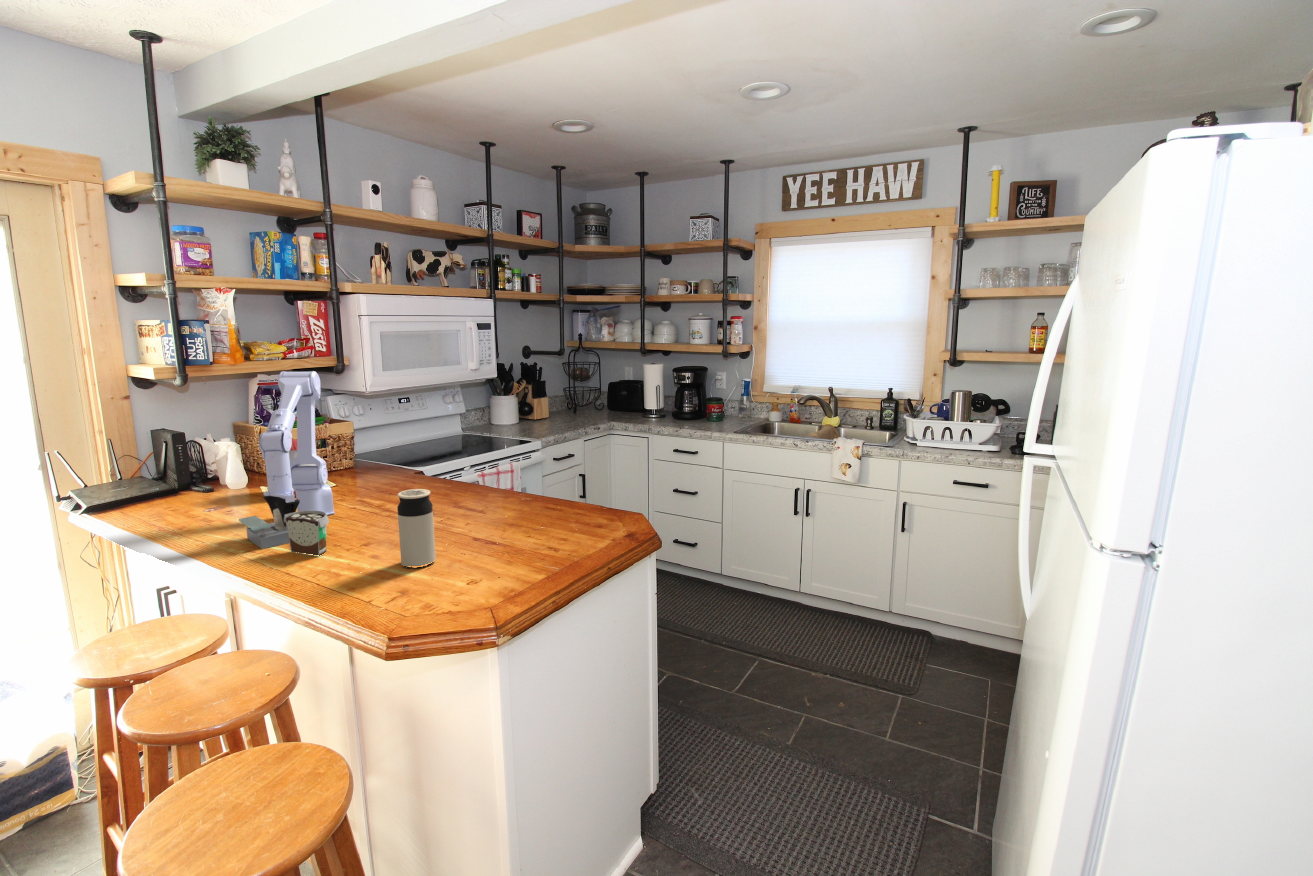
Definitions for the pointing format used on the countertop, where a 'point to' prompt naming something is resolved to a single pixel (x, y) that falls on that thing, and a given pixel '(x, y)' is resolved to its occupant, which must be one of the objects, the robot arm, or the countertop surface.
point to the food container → (307, 531)
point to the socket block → (264, 533)
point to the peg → (278, 520)
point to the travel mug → (416, 527)
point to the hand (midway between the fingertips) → (283, 522)
